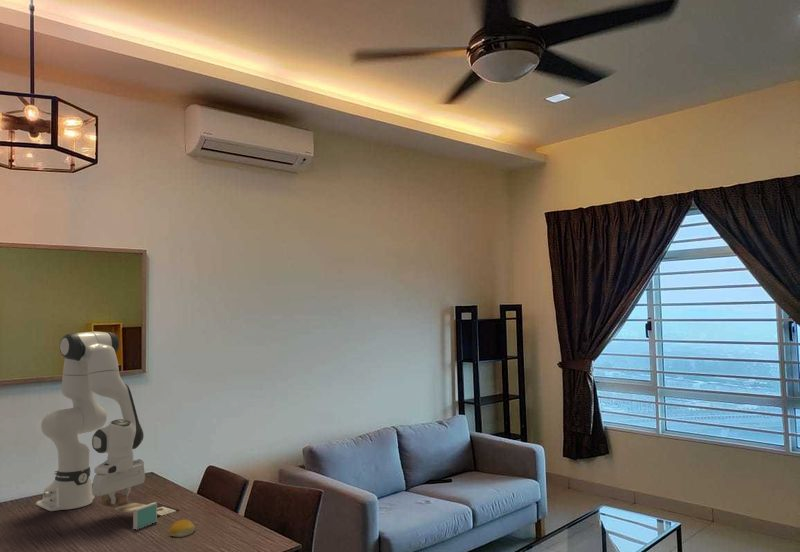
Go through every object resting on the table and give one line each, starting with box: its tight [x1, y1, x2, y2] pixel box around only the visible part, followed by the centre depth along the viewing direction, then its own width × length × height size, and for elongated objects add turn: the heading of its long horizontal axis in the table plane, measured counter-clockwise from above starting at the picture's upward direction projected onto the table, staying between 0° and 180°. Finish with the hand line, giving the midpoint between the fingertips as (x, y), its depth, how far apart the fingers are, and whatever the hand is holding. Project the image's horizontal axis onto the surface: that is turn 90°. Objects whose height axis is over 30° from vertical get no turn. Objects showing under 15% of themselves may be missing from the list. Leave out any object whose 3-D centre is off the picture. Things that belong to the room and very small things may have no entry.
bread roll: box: [168, 519, 196, 538], centre depth 204 cm, size 8×9×4 cm
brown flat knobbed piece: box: [101, 492, 146, 514], centre depth 218 cm, size 19×7×4 cm, turn 64°
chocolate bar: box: [145, 501, 180, 518], centre depth 229 cm, size 9×1×18 cm
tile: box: [132, 501, 158, 531], centre depth 212 cm, size 2×9×7 cm, turn 154°
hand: (119, 501), depth 218 cm, fingers closed on brown flat knobbed piece, 3 cm apart
